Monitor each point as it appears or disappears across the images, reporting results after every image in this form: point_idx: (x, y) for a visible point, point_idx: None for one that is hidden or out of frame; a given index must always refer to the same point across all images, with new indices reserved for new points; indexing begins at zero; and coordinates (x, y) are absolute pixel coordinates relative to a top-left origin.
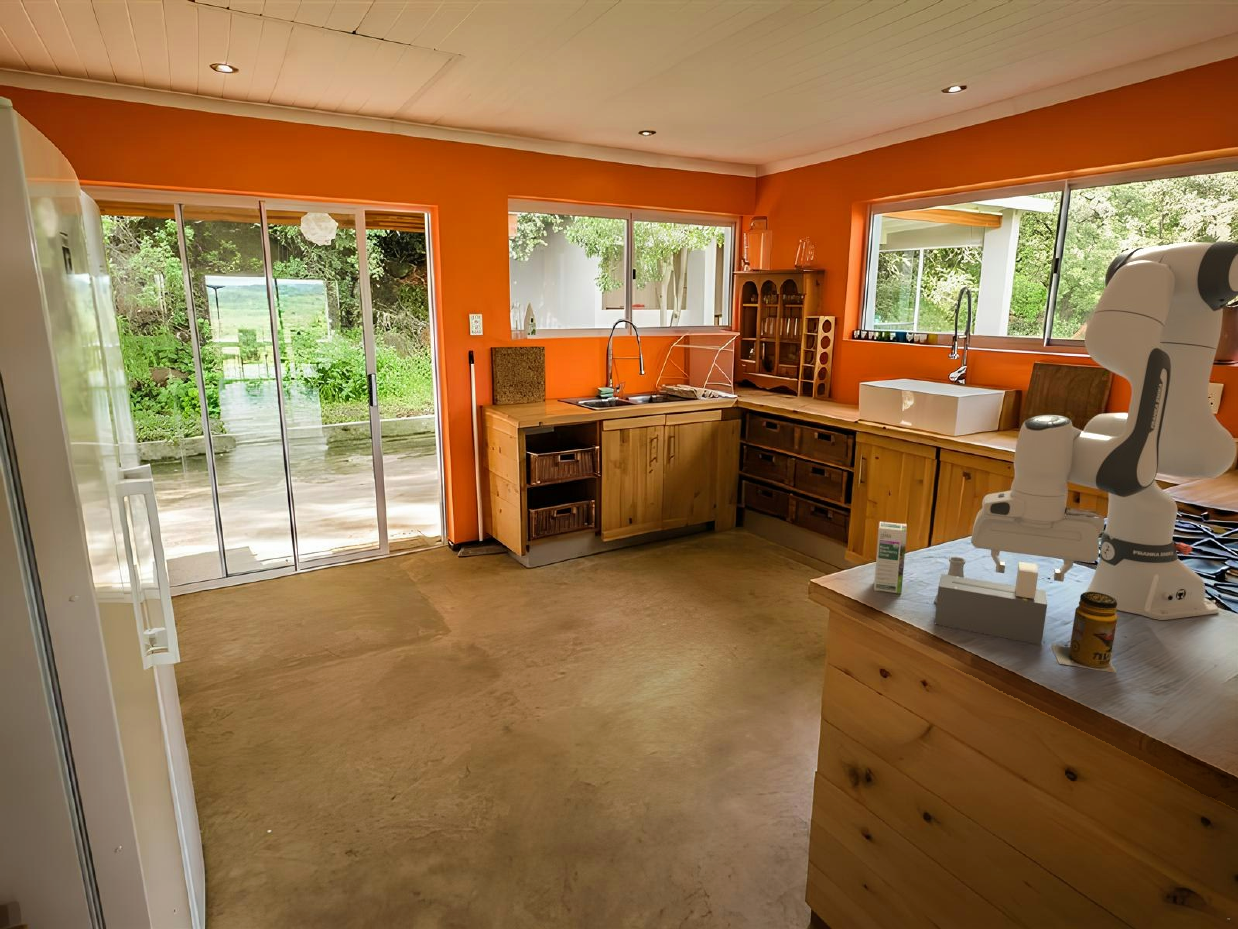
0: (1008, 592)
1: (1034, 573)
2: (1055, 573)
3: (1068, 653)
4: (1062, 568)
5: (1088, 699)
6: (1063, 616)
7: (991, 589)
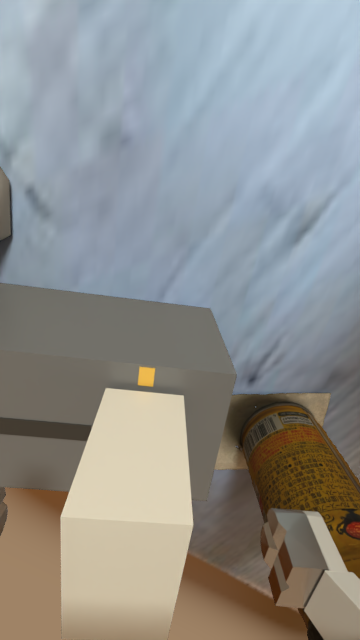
0: (76, 443)
1: (147, 636)
2: (275, 595)
3: (243, 421)
4: (335, 621)
5: (225, 553)
6: (315, 169)
7: (6, 436)
